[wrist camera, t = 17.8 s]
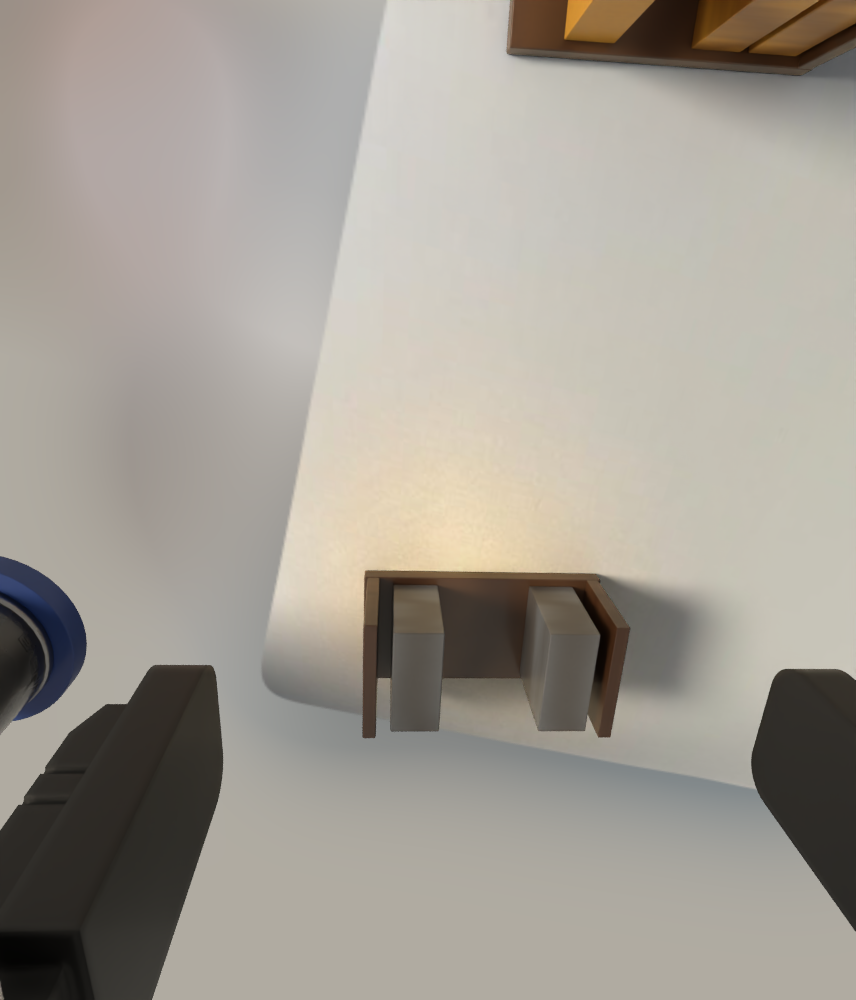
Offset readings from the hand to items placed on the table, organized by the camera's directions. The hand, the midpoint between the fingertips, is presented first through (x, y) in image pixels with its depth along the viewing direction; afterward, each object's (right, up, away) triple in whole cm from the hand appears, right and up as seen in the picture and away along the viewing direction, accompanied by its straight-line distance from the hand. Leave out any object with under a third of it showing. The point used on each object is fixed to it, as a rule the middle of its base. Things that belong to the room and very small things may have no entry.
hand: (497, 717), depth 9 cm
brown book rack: (+3, -6, +34) cm, 35 cm away
